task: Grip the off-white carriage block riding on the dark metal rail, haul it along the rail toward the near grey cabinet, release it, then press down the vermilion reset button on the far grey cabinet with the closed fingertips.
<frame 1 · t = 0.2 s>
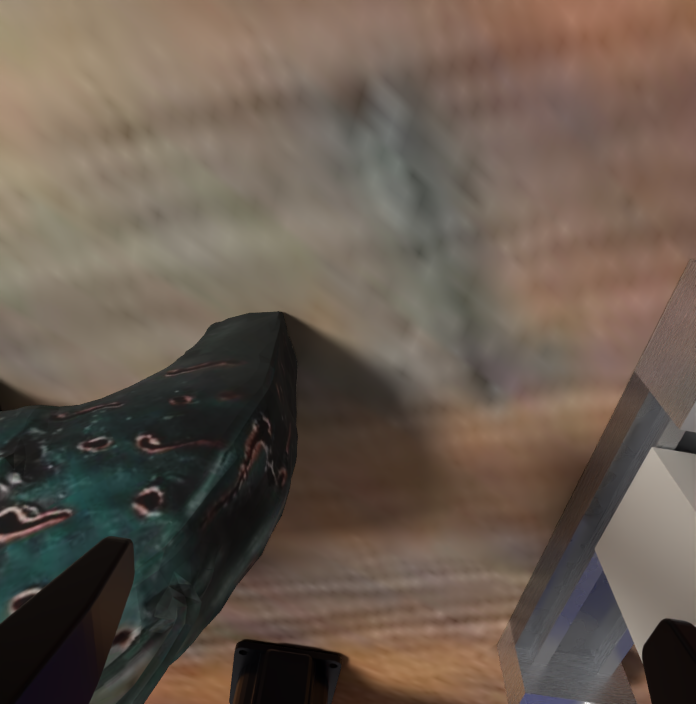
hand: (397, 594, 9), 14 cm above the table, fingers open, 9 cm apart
ceramic cat: (92, 366, 25), on the table
rail: (620, 524, 28), on the table
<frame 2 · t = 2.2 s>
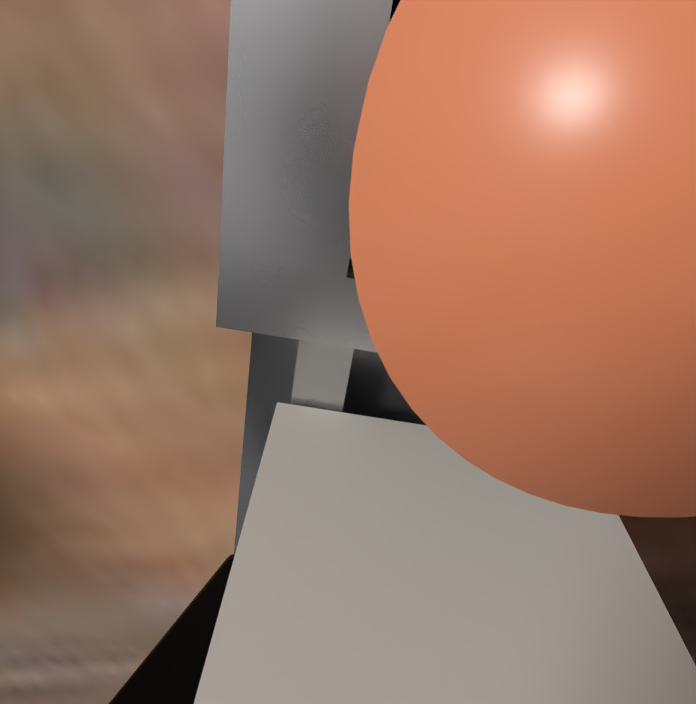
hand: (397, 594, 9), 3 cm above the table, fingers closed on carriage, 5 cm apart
reset button: (581, 137, 5), point 4 cm above the table, slide at 0.0 cm
rail: (363, 576, 14), on the table
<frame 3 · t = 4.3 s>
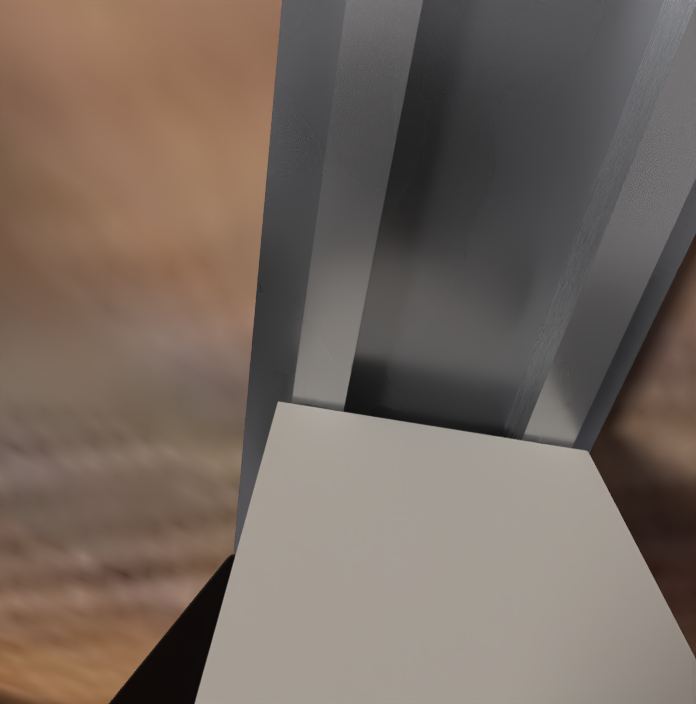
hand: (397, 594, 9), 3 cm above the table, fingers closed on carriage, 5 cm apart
rail: (442, 277, 10), on the table
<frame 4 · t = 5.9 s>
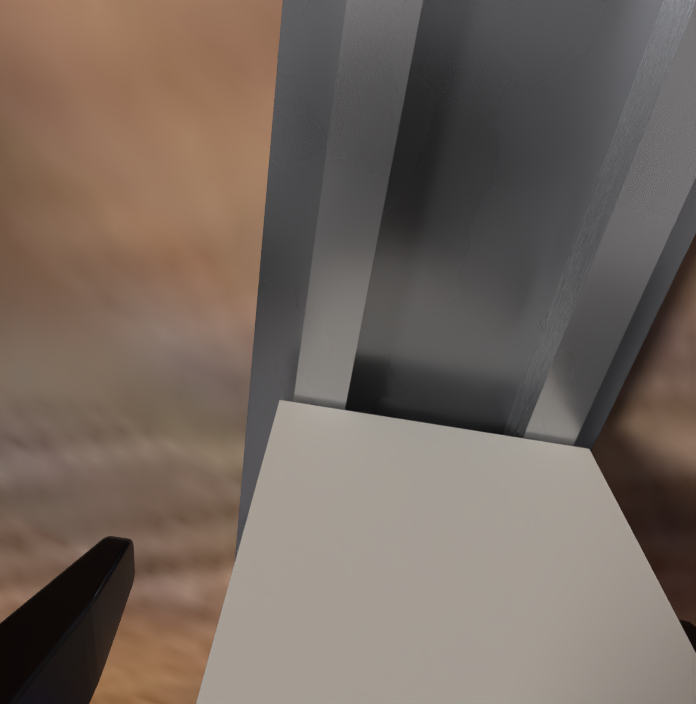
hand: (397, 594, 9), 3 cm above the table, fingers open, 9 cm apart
rail: (445, 269, 10), on the table
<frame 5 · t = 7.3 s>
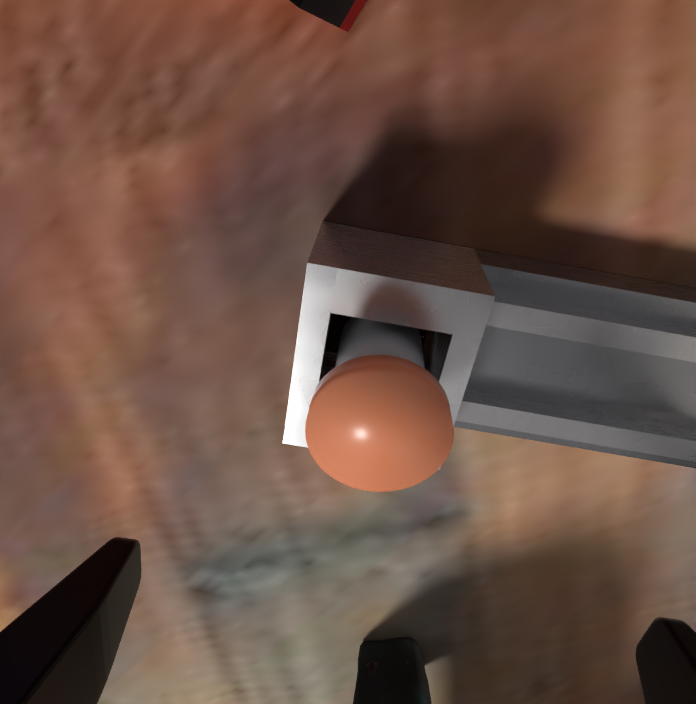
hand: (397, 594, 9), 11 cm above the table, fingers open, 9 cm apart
reset button: (379, 383, 16), point 4 cm above the table, slide at 0.0 cm
rail: (684, 371, 20), on the table
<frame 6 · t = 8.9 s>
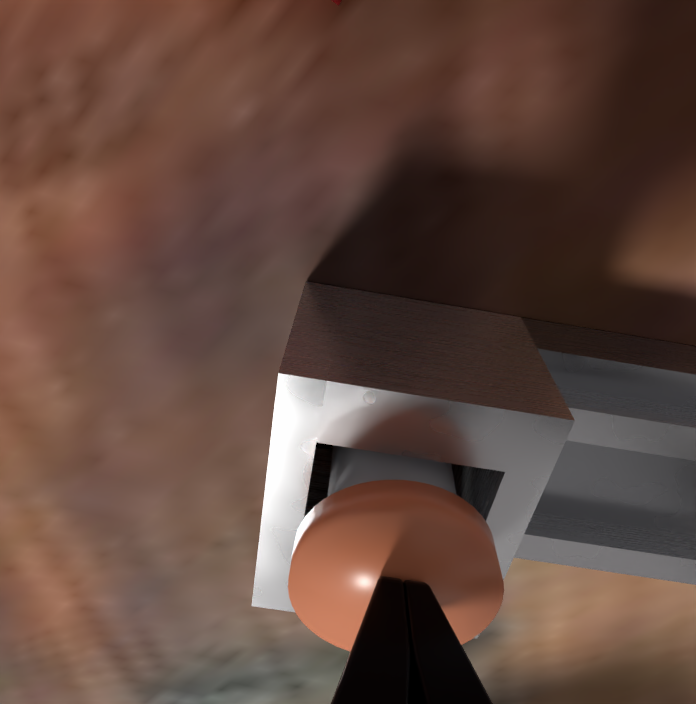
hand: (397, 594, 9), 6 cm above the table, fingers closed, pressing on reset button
reset button: (391, 492, 11), point 3 cm above the table, slide at 1.3 cm, touching gripper
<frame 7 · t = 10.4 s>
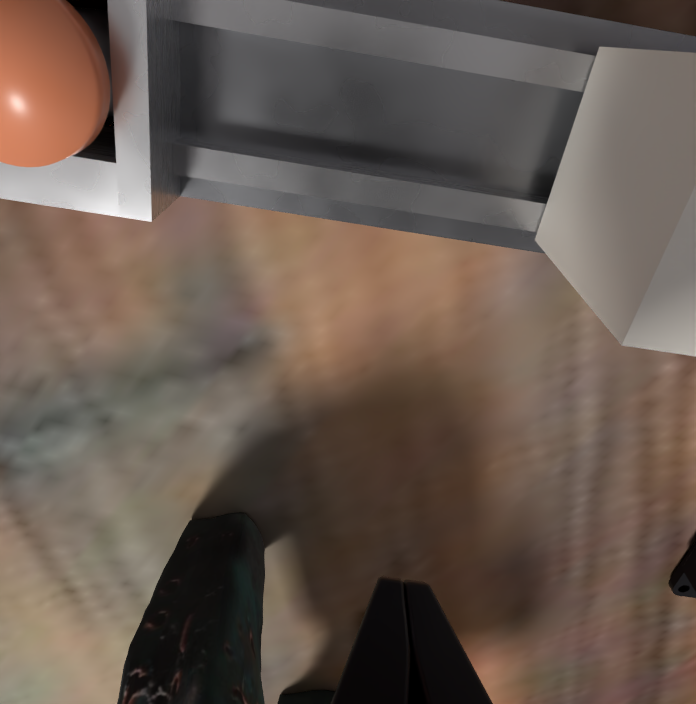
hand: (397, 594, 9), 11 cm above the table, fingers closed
ceramic cat: (275, 633, 29), on the table
reset button: (60, 68, 13), point 3 cm above the table, slide at 1.6 cm
rail: (485, 127, 16), on the table
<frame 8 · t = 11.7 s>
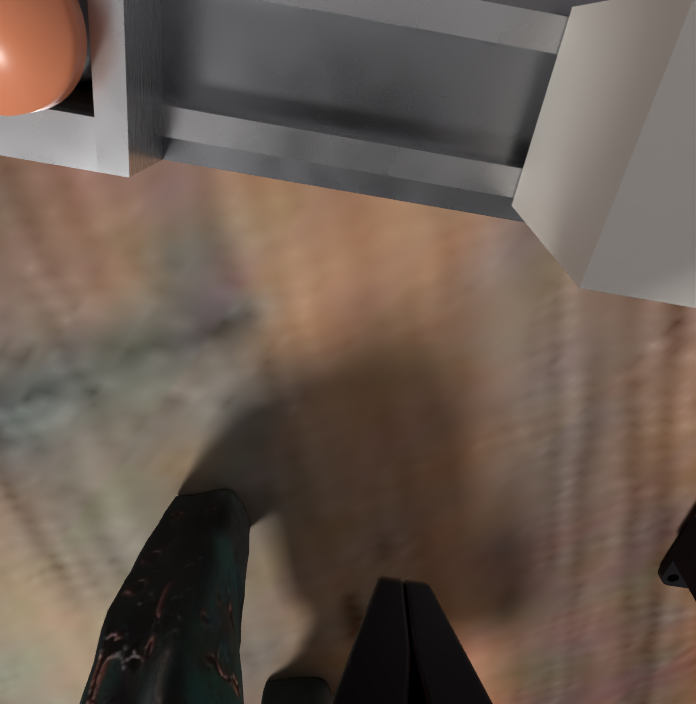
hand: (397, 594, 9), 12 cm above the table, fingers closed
ceramic cat: (261, 617, 29), on the table
reset button: (43, 25, 14), point 3 cm above the table, slide at 1.6 cm
rail: (465, 95, 16), on the table
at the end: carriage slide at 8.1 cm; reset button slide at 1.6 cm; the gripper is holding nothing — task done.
